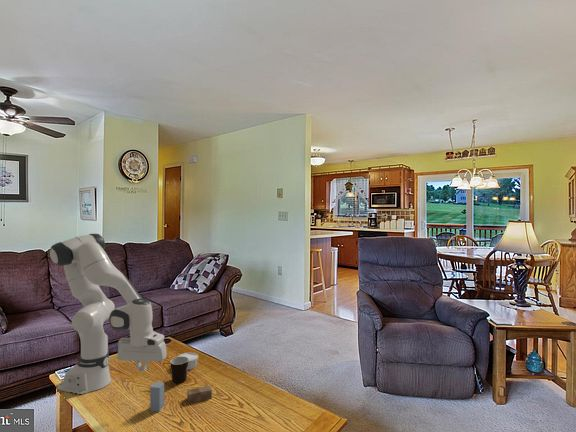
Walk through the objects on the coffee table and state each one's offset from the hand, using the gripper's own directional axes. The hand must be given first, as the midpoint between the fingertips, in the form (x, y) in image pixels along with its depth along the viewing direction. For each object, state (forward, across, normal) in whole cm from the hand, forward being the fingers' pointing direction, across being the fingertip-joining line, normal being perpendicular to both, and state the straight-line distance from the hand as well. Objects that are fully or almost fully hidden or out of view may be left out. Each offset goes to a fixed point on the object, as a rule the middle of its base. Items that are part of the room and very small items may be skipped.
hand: (142, 370), depth 137 cm
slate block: (+16, +6, 0) cm, 17 cm away
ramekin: (+16, +4, +37) cm, 41 cm away
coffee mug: (+16, +6, +24) cm, 30 cm away
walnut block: (+14, +17, +7) cm, 23 cm away
